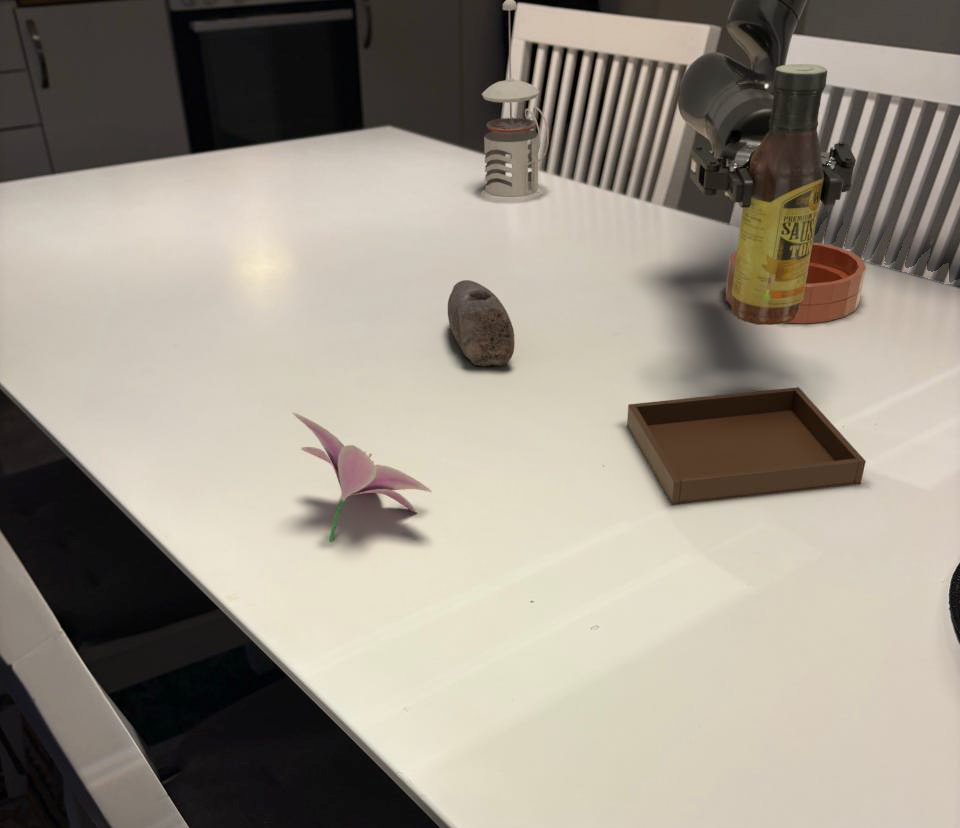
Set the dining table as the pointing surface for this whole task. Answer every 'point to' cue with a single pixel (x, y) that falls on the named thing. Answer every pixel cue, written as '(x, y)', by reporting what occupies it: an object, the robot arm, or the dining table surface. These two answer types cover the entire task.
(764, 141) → the sauce bottle
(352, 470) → the lily
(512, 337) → the perforated stone tool
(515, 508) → the dining table surface
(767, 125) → the robot arm
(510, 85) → the french press
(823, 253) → the bowl
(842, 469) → the tray
